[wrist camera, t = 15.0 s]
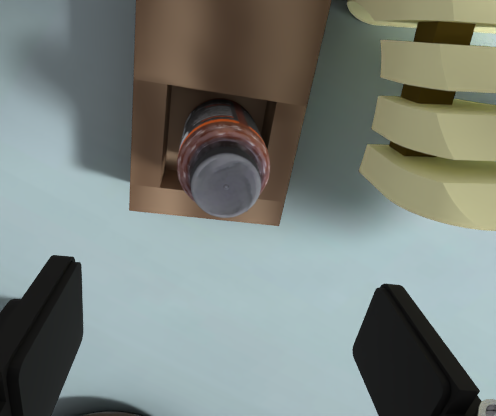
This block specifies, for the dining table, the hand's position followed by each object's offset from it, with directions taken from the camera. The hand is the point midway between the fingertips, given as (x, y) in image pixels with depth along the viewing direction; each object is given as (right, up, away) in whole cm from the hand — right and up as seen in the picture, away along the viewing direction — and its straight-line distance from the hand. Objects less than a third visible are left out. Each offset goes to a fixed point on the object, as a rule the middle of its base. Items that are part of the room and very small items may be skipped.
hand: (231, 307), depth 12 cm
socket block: (-1, +15, +17) cm, 23 cm away
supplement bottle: (-2, +9, +19) cm, 21 cm away
